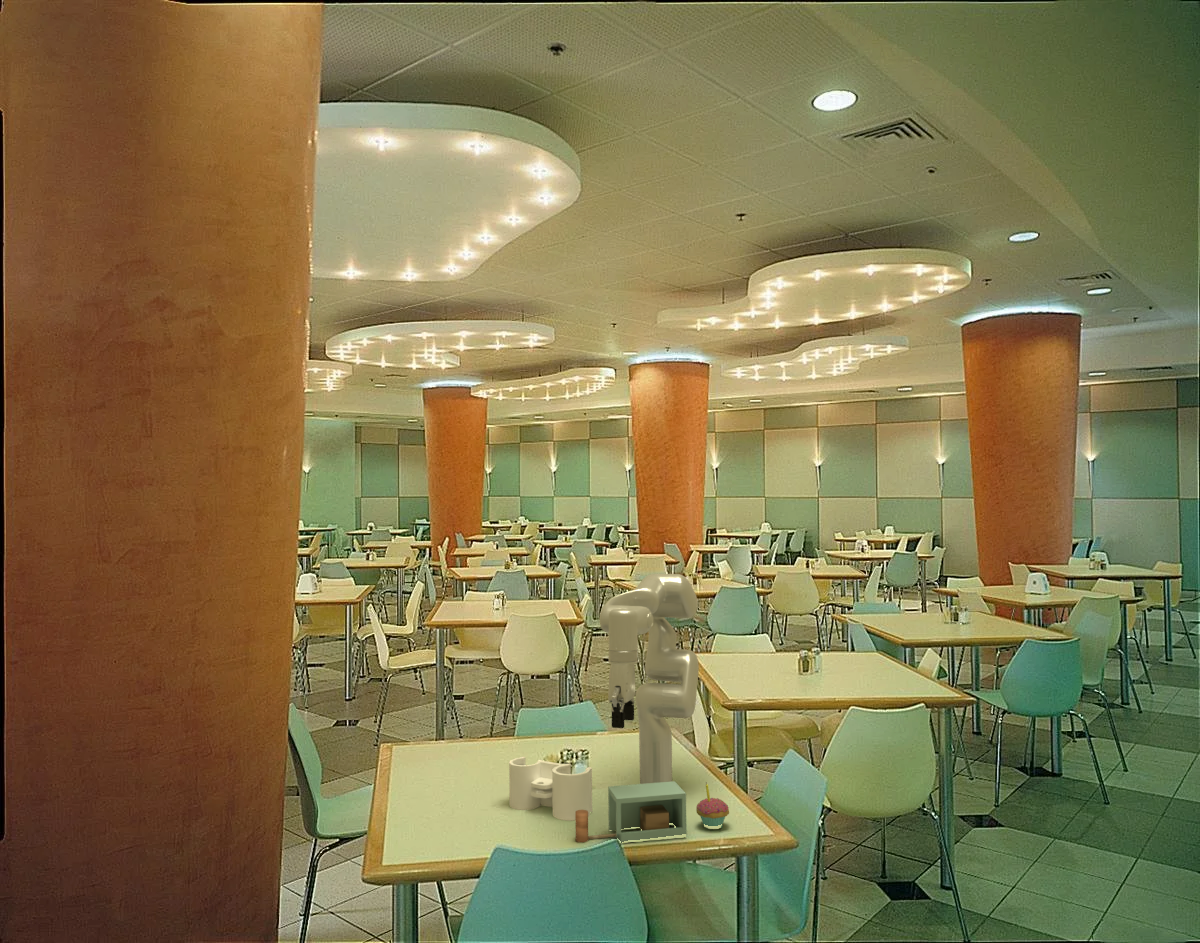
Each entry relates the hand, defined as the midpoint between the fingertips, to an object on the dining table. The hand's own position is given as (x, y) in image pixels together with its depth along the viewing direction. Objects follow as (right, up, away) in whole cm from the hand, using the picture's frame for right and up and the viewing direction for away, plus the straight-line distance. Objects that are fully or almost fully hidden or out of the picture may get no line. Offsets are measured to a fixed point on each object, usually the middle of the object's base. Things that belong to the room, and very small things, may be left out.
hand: (623, 723), depth 233 cm
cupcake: (+24, -28, +3) cm, 37 cm away
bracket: (-20, -29, +17) cm, 39 cm away
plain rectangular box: (+6, -28, -2) cm, 28 cm away
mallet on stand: (-1, -28, -3) cm, 28 cm away
